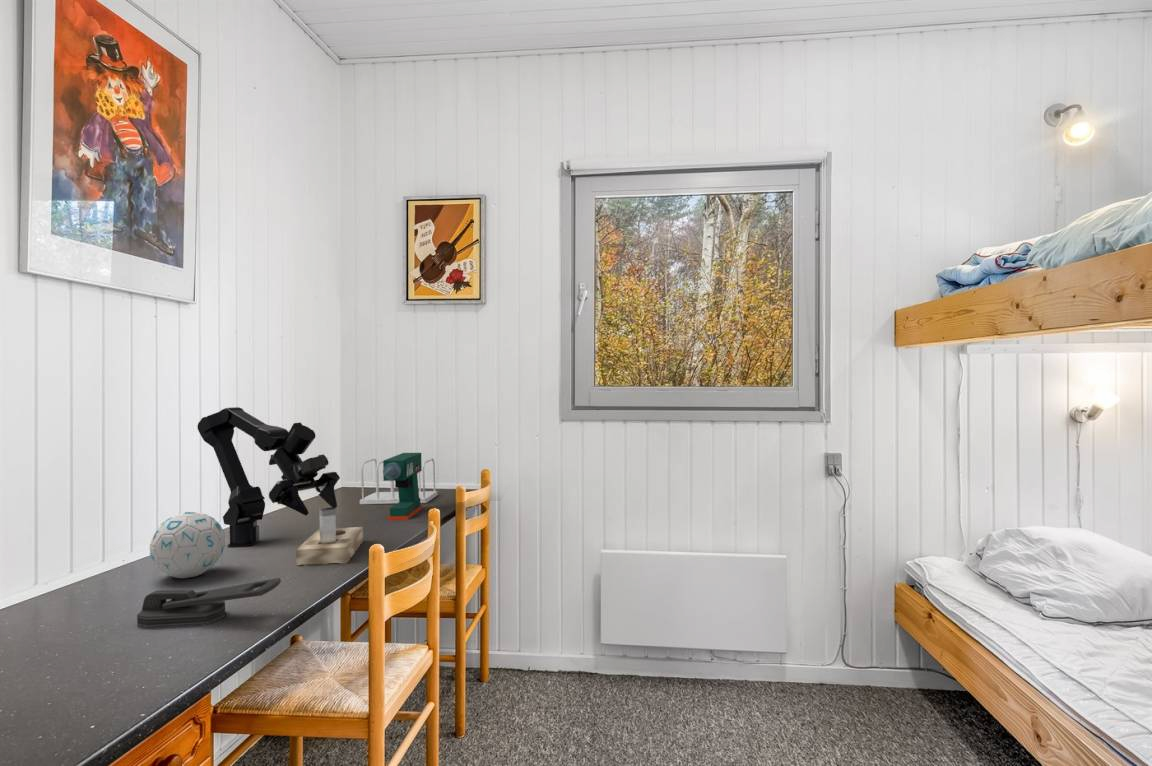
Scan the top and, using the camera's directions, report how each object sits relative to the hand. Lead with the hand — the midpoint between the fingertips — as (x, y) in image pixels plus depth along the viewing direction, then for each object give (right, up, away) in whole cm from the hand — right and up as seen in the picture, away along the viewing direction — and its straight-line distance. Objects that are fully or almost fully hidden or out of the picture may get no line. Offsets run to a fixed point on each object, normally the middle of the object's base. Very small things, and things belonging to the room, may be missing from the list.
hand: (321, 510), depth 162 cm
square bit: (+2, -12, -1) cm, 12 cm away
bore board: (+1, -12, +4) cm, 12 cm away
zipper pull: (-4, -12, -42) cm, 44 cm away
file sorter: (-2, -12, +77) cm, 78 cm away
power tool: (+8, -12, +45) cm, 47 cm away
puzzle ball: (-25, -12, -15) cm, 32 cm away
